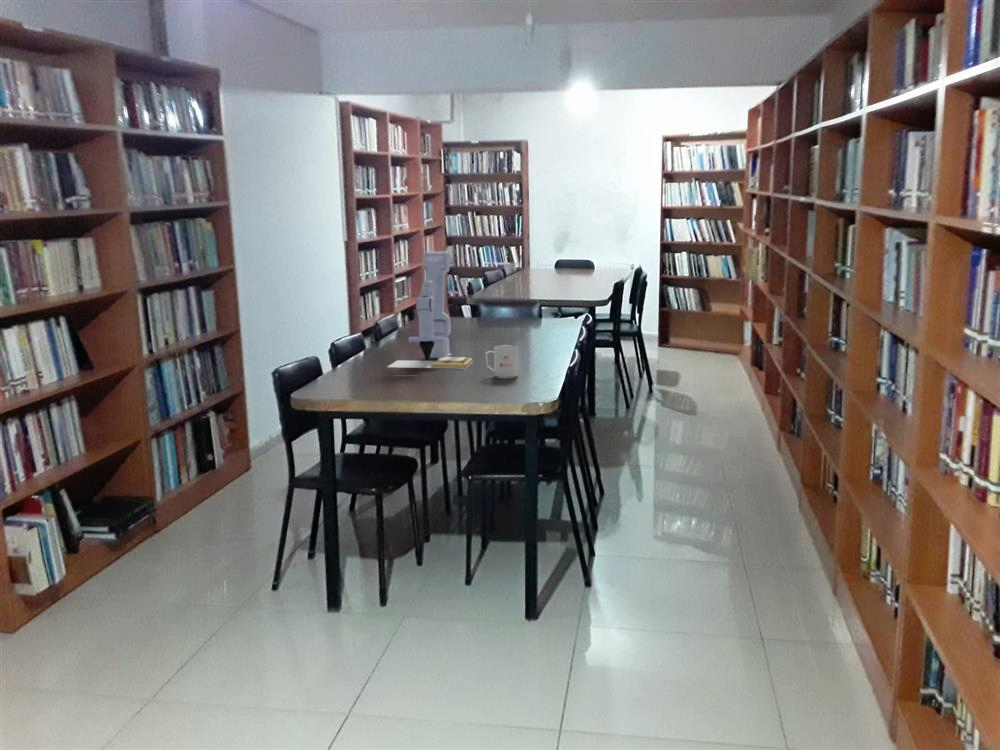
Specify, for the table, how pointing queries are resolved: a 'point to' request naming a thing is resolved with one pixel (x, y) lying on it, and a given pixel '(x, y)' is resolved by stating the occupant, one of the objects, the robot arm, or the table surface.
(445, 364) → the board
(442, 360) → the beige flat block
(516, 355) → the mug
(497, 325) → the table surface
